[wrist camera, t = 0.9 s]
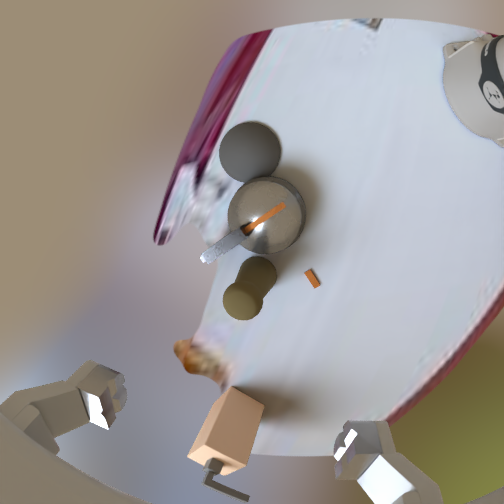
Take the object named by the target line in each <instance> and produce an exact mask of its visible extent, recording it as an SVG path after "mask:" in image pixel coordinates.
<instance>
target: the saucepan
mask: <svg viewBox="0 0 504 504" xmlns="http://www.w3.org/2000/svg"><path fill="white" fill-rule="evenodd" d="M301 219H302V213H301V208H300V204H299V202H298V200H297V198H296V196H295V195H294V194H293V193H292V192H291V191H290V190H289V189H288V188H287V187H286V186H284V185H282V184H280V183H277V182H274V181H257V182H254V183H250V184H248V185H246V186H244V187H243V188H241V189H240V190H239V191H238V192H237V193H236V194H235V195H234V197H233V198H232V200H231V202H230V205H229V209H228V224H229V228H230V231H231V233H230V234H228V235H227V236H225V237H224V238H222V239H221V240H220V241H218V242H217V243H215V244H214V245H213V246H211V247H210V248H208V249H207V250H206V251H205V252H203V253H202V254H201V255H202V256H203V258H204V259H205V260H206V262H207V263H208V264H210V263H211V262H213V261H214V260H216V259H217V258H219V257H220V256H222V255H223V254H225V253H226V252H228V251H229V250H230V249H232V248H233V247H235V246H236V245H238V244H240V245H242V246H243V247H244V248H246V249H248V250H249V251H252V252H255V253H259V254H272V253H276V252H279V251H281V250H283V249H285V248H286V247H288V246H289V245H290V244H291V243H292V242H293V240H294V239H295V237H296V236H297V234H298V231H299V228H300V225H301Z"/></svg>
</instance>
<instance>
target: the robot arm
mask: <svg viewBox="0 0 504 504" xmlns="http://www.w3.org/2000/svg"><path fill="white" fill-rule="evenodd" d="M454 49H455V50H456V51H455V50H454ZM443 53H444V58H445V68H444V72H443V85H444V90H445V94H446V97H447V99H448V102H449V104H450V106H451V108H452V110H453V111H454V113H455V115H456V116H457V117H458V119H459V120H460V121H461V122H462V123H463V124H464V125H465V126H466V127H467V128H468V129H469V130H470V131H472V132H473V133H475V134H477V135H479V136H481V137H485V138H489V139H492V140H493V141H494V142H495V143H497V144H498V145H499V146H501V147H504V35H501V36H498V37H495V38H493V37H492V36H491V35H490V34H486V35H484V36H482V37H481V38H480V37H477V38H475V39H474V41H467V42H459V43H452V44H447V45H445V46H444V47H443ZM124 382H125V379H124V375H123V374H122V373H119V372H117V371H114V370H112V369H110V368H108V367H105V366H103V365H101V364H99V363H96V362H94V361H92V360H88V361H86V362H85V363H84V364H83V365H82V366H81V367H80V368H79V369H78V370H77V371H76V372H75V373H74V374H73V375H72V376H71V377H70V378H69V379H68V380H67V381H66V382H65V381H59V382H54V383H50V384H46V385H42V386H38V387H34V388H29V389H25V390H20V391H16V392H14V393H13V394H12V395H11V396H10V397H9V398H8V399H7V400H6V401H4V402H3V403H2V404H1V405H0V504H152V503H149V502H146V501H144V500H141V499H139V498H136V497H134V496H131V495H129V494H127V493H124V492H122V491H120V490H118V489H115V488H113V487H111V486H109V485H107V484H105V483H103V482H101V481H99V480H97V479H95V478H93V477H91V476H90V475H88V474H86V473H84V472H82V471H81V470H79V469H77V468H75V467H74V466H72V465H70V464H69V463H67V462H65V461H64V460H62V459H61V458H59V457H58V456H56V454H57V453H58V452H59V450H60V449H59V446H58V445H57V443H56V441H55V440H54V438H55V437H57V436H60V435H62V434H64V433H67V432H69V431H71V430H73V429H76V428H78V427H80V426H82V425H84V424H87V423H89V422H90V421H92V422H93V423H95V424H98V425H100V426H102V427H104V428H106V429H109V428H110V426H111V425H112V423H113V422H114V421H115V419H116V415H115V413H116V412H119V411H121V410H122V409H123V407H124V406H125V403H126V400H127V390H126V388H125V387H124V386H123V383H124ZM334 457H335V458H336V459H337V460H338V462H337V463H336V465H335V475H336V480H357V481H358V483H359V484H360V485H361V487H362V488H363V489H364V490H365V492H366V493H367V494H368V496H369V497H370V498H371V499H372V501H373V502H374V503H375V504H444V503H443V499H442V496H441V493H440V489H439V486H438V485H437V484H436V483H435V482H434V481H433V480H431V479H430V478H429V477H428V476H427V475H425V474H424V473H423V472H422V471H421V470H419V469H418V468H417V467H416V466H415V465H413V464H412V463H411V462H410V461H409V460H407V458H405V457H404V456H403V455H402V454H401V453H396V449H395V446H394V443H393V439H392V436H391V432H390V429H389V426H388V423H387V422H386V421H347V422H346V423H345V424H344V426H343V432H342V433H340V434H339V435H338V436H337V438H336V441H335V444H334ZM466 504H504V486H503V487H502V488H499V489H497V490H495V491H493V492H491V493H489V494H487V495H485V496H482V497H480V498H478V499H475V500H473V501H470V502H468V503H466Z"/></svg>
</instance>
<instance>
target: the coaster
mask: <svg viewBox="0 0 504 504" xmlns="http://www.w3.org/2000/svg"><path fill="white" fill-rule="evenodd" d="M219 157H220V162H221V164H222V167H223V168H224V170H225V171H226V173H227V174H228V175H229V176H231V177H232V178H234V179H235V180H238V181H240V182H245V183H247V182H248V181H250V180H252V179H255V178H259V177H268V176H269V175H270V174H271V173H272V172H273V171H274V170H275V168H276V166H277V164H278V162H279V158H280V147H279V143H278V141H277V138H276V137H275V135H274V134H273V133H272V132H271V131H270V130H269V129H268V128H266V127H265V126H263V125H260V124H257V123H243V124H239V125H237V126H235V127H233V128H232V129H231V130H229V131H228V132H227V134H226V135H225V136H224V138H223V140H222V142H221V145H220V149H219Z"/></svg>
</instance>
